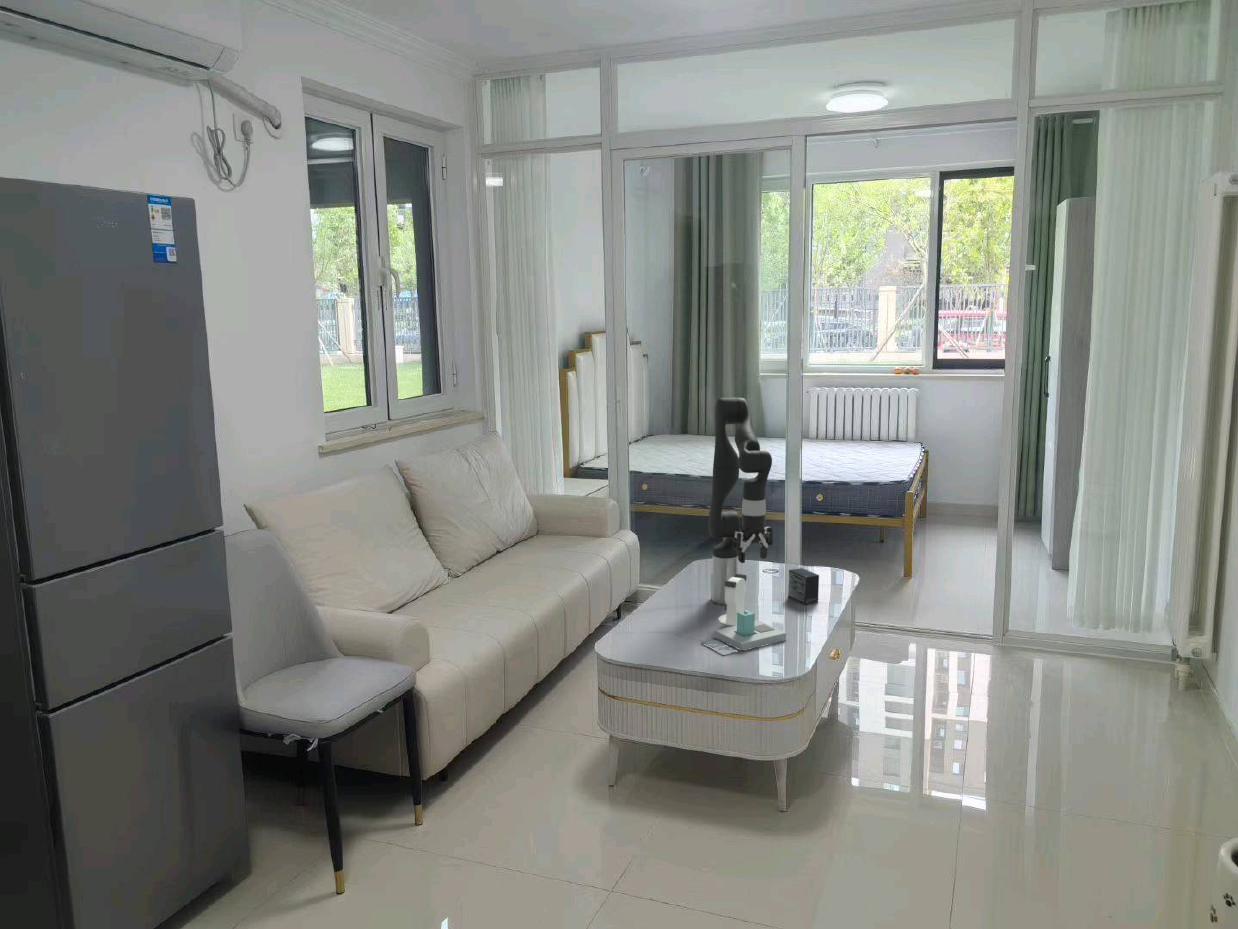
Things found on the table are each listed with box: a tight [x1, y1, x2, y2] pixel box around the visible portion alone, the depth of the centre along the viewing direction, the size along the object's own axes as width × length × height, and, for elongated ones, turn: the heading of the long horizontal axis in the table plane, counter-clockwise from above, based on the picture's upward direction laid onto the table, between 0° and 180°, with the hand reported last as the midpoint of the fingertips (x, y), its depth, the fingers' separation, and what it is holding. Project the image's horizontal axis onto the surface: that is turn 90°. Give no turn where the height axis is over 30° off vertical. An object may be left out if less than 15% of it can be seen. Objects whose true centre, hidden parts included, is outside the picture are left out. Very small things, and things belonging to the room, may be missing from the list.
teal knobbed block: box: [737, 609, 756, 637], centre depth 300 cm, size 4×4×10 cm
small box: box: [787, 567, 820, 606], centre depth 339 cm, size 11×6×10 cm, turn 25°
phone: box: [700, 638, 736, 650], centre depth 294 cm, size 6×12×1 cm, turn 30°
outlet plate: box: [714, 620, 787, 651], centre depth 301 cm, size 14×18×3 cm
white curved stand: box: [718, 573, 748, 627], centre depth 318 cm, size 12×11×15 cm
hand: (752, 560), depth 302 cm, fingers open, 8 cm apart
